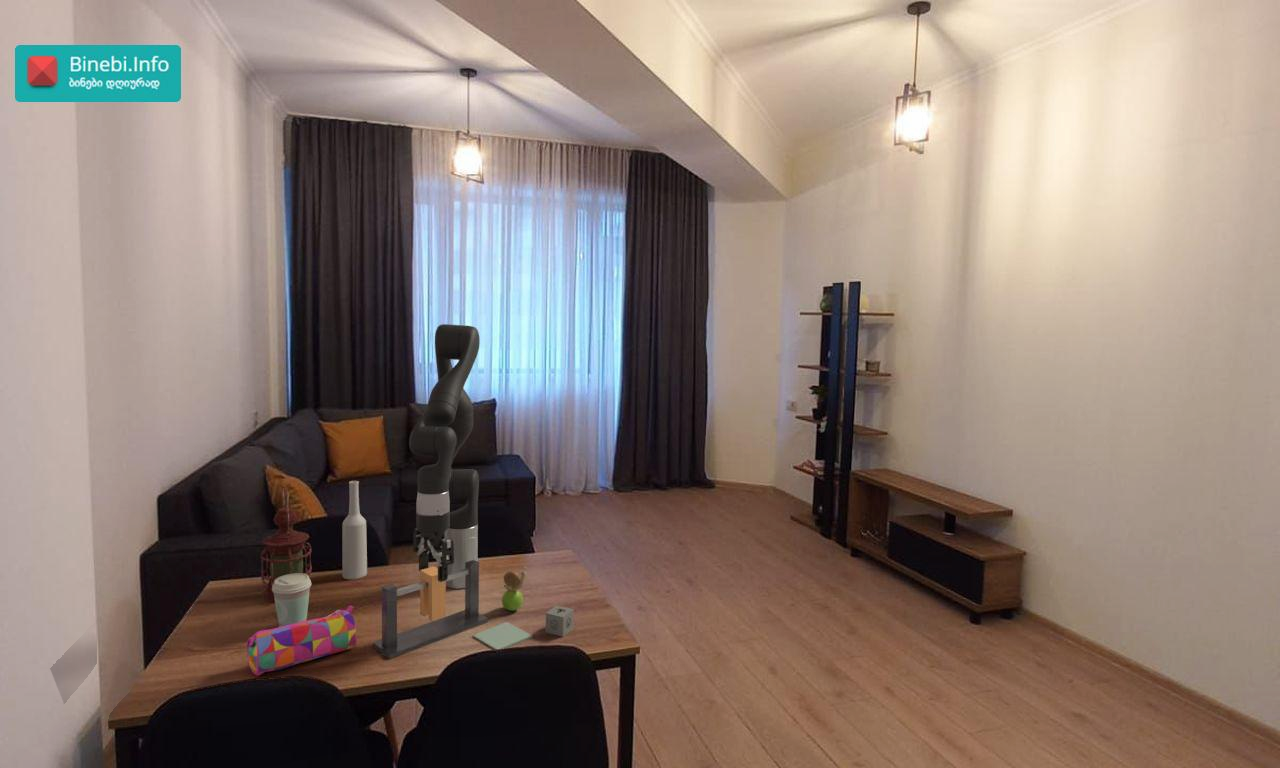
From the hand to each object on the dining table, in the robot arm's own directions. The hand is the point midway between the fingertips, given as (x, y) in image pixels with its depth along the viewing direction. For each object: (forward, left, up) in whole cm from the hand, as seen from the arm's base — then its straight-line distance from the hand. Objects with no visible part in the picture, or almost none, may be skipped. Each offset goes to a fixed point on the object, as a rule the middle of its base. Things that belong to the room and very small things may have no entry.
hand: (433, 575), depth 158 cm
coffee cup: (-27, -22, -15) cm, 38 cm away
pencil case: (-10, -26, -15) cm, 31 cm away
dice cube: (+20, +23, -15) cm, 34 cm away
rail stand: (0, 0, -15) cm, 15 cm away
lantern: (-47, -16, -15) cm, 52 cm away
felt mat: (+13, +11, -15) cm, 22 cm away
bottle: (-48, +3, -15) cm, 50 cm away
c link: (0, 0, -10) cm, 10 cm away
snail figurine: (+3, +22, -15) cm, 27 cm away
